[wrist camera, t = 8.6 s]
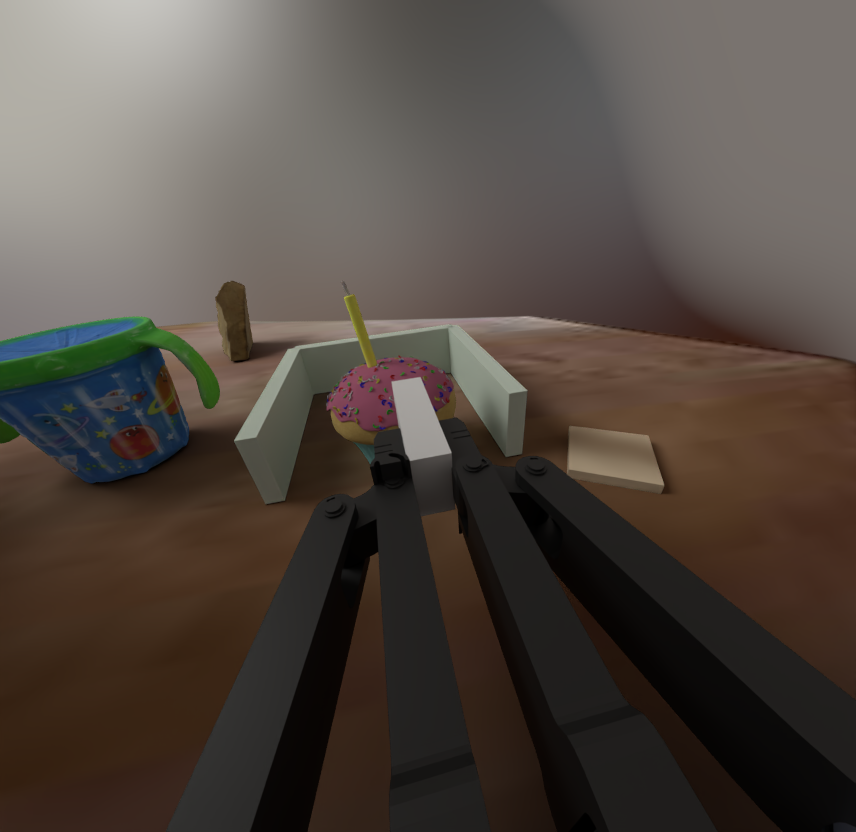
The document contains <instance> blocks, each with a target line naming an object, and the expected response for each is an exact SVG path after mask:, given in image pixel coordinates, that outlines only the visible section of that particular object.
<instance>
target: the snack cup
mask: <svg viewBox="0 0 856 832" xmlns="http://www.w3.org/2000/svg"><path fill="white" fill-rule="evenodd" d="M159 348H161V349H165V350H168V351H171V352H172V353H173V354H174V355H175V356H176V357H177V358H178V359H179V360H180V361H181V362H182V363H183V364H184V365H185V366H186V367H187V369H188V370H189V371H190V372H191V373H192V374H193V375H194V377H195V378H196V381H197V385H198V389H199V393H200V396H201V399H202V402H203V405H204V406H205V408H207V409H212V408H213V407H214V406H215V405H216V403H217V402H218V400H219V396H220V389H219V384H218V381H217V379H216V377H215V375H214V373H213V372H212V370H211V368H210V367H209V366H208V365H207V363H206V362H205V361H204V359H203V358H202V357H201V356H200V355H199V354H198V353H197V352H196V351H195V350H194V349H193V347H191V346H190V345H189V344H188V343H187V342H185V341H184V340H182V339H181V338H180V337H178V336H176V335H174V334H172V333H170V332H167V331H164V330H161V329H158V328H156V327H155V325H154V324H153V322H152V320H151V319H149V318H146V317H123V318H115V319H107V320H101V321H94V322H88V323H81V324H76V325H71V326H66V327H60V328H56V329H51V330H46V331H41V332H37V333H32V334H28V335H24V336H19V337H15V338H11V339H7V340H3V341H0V443H6V442H9V441H11V440H13V439H15V438H16V437H18V436H19V435H20V434H21V435H22V436H23V437H26V438H27V439H28V440H29V441H30V442H32V443H33V444H34V445H35V446H37V447H38V448H39V449H41V450H42V451H43V452H45V453H46V454H48V455H49V456H51V457H52V458H53V459H55V460H56V461H57V462H58V463H59V464H60V465H62V466H63V467H65V468H67V469H68V470H70V471H71V472H72V473H74V474H75V475H76V476H78V477H79V478H81V479H82V480H83V481H85V482H89V483H91V484H93V483H95V482H110V481H113V480H118V479H121V478H124V477H127V476H130V475H134V474H140V473H144V472H147V471H148V470H149V469H150V468H152V467H154V466H156V465H158V464H159V463H161V462H163V461H165V460H166V459H168V458H169V457H170V456H172V455H174V454H175V453H176V452H177V451H178V450H180V449H181V448H182V447H184V446H186V445H187V442H188V440H189V437H188V436H189V426H188V423H187V421H186V417H185V415H184V411H183V409H182V406H181V405H180V401H179V398H178V395H177V392H176V390H175V387H174V385H173V382H172V379H171V376H170V374H169V372H168V369H167V367H166V365H165V361H164V359H163V357H162V353H161V352H160V350H159Z"/></svg>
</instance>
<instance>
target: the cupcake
mask: <svg viewBox="0 0 856 832" xmlns="http://www.w3.org/2000/svg"><path fill="white" fill-rule="evenodd" d="M341 284H342V285H343V288H344V291H345V293H346V295H347V296H346V297H344V300H345V302H346V305H347V308H348V311H349V314H350V317H351V320H352V323H353V326H354V329H355V332H356V334H357V337H358V340H359V343H360V346H361V349H362V352H363V355H364V358H365V360H366V363H364V364H360V365H359V366H356V367H354V368H355V369H350V370H351V371H349V372H348V373H347V374H345V375H344V376H341V380H340V381H339V382H338V383H337V384H336V385H335V386H334V389H333V390H332V392H331V393H330V395H328V396H329V397H330V398H329V397H328V396H327V398H328V399H329V400H328V399H327V401H328V403H326V405H327V411H329V410H330V409H331V418H332V422H333V426H334V428H335V430H336V431H337V432H338V433H339V434H341V435H342V436H343V437H344V438H345V439H347V440H349V441H352V442H354V443H355V444H356V445H357V446H358V447H359V449H360V450H361V451H362V452H363V454H364V455H365V457H366V458H367V460H368V461H369V463H370V464H371V462H372V460H373V459H374V458H375V453H374V438H375V436H376V434H377V433H378V432H380V431H386V430H392V429H398V428H399V425H398V419H397V413H396V407H395V401H394V395H393V389H392V381H399V380H405V379H411V378H418V377H421V380H422V382H423V384H424V387H425V389H426V392H427V394H428V397H429V399H430V401H431V404H432V406H433V409H434V411H435V414H436V416H437V419H438V421H439V420H445V419H450V418H453V416H454V412H455V408H456V397H455V392H454V386H453V383H452V381H451V379H450V378H449V377H448V376H447V375H446V373H445V371H444V370H441V369H438V368H439V367H437V366H433V365H432V364H430V363H428V362H427V361H421V360H419V359H416V358H413V357H412V358H410V357H411V356H410V357H401V356H399V355H398V357H397V358H384V359H380V360H376V358H375V355H374V352H373V349H372V346H371V343H370V340H369V337H368V334H367V331H366V328H365V325H364V322H363V319H362V316H361V313H360V310H359V307H358V304H357V301H356V298H355V295H354V294H353V295H350V293H349V291H348V289H347V286H346V284H345V282H344V281H342V282H341ZM361 365H362V366H361ZM342 377H343V379H342ZM335 387H336V388H335Z"/></svg>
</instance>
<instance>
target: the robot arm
mask: <svg viewBox="0 0 856 832" xmlns="http://www.w3.org/2000/svg"><path fill="white" fill-rule="evenodd" d="M392 389H393V395H394V401H395V407H396V413H397V419H398V425H399V428H398V429H392V430H386V431H380V432H378V433H377V434H376V436H375V438H374V453H375V458H374V459H373V460H372V462H371V465H370V469H371V473H372V477H373V481H374V485H373V486H372V488H371V489H370V490H368V491H367V492H366V493H364V494H362V495H361V496H358V497H356V498H354V499H353V498H352V497H350V496H349V495H345V494H337V495H332V496H330V497H327V498H325V499H324V500H323V501H321V502H320V503H319V504H318V505H317V507H316V508H315V509H314V512H313V514H312V516H311V518H310V520H309V522H308V525H307V527H306V529H305V531H304V533H303V535H302V538H301V540H300V542H299V544H298V546H297V548H296V551H295V553H294V555H293V557H292V559H291V561H290V564H289V566H288V568H287V570H286V572H285V574H284V577H283V579H282V581H281V583H280V585H279V587H278V590H277V592H276V594H275V596H274V598H273V600H272V603H271V605H270V607H269V609H268V611H267V613H266V616H265V618H264V620H263V622H262V624H261V626H260V629H259V631H258V633H257V635H256V637H255V639H254V642H253V644H252V646H251V648H250V650H249V652H248V654H247V657H246V659H245V661H244V663H243V665H242V667H241V670H240V672H239V674H238V676H237V678H236V680H235V683H234V685H233V687H232V689H231V691H230V693H229V696H228V698H227V700H226V702H225V704H224V706H223V709H222V711H221V713H220V715H219V717H218V719H217V722H216V724H215V726H214V728H213V730H212V732H211V735H210V737H209V739H208V741H207V743H206V745H205V748H204V750H203V752H202V754H201V756H200V758H199V761H198V763H197V765H196V767H195V769H194V771H193V774H192V776H191V778H190V780H189V782H188V784H187V787H186V789H185V791H184V793H183V795H182V797H181V800H180V802H179V804H178V806H177V808H176V810H175V812H174V815H173V817H172V819H171V821H170V823H169V825H168V828H167V830H166V832H307V831H308V826H309V822H310V818H311V813H312V809H313V805H314V800H315V796H316V792H317V787H318V783H319V779H320V774H321V770H322V766H323V761H324V757H325V752H326V748H327V744H328V739H329V735H330V731H331V726H332V722H333V718H334V713H335V709H336V705H337V700H338V696H339V692H340V687H341V683H342V679H343V674H344V670H345V665H346V661H347V657H348V652H349V648H350V644H351V639H352V635H353V631H354V626H355V622H356V618H357V613H358V609H359V605H360V600H361V596H362V592H363V587H364V583H365V579H366V574H367V570H368V565H369V561H370V556H372V555H374V554H375V553H377V552H379V569H380V585H381V601H382V618H383V634H384V651H385V667H386V683H387V700H388V716H389V733H390V749H391V782H390V794H389V812H390V832H491V830H490V826H489V821H488V817H487V812H486V808H485V803H484V798H483V794H482V790H481V785H480V781H479V777H478V773H477V768H476V764H475V761H474V757H473V754H472V750H471V746H470V742H469V738H468V733H467V729H466V724H465V719H464V715H463V710H462V705H461V701H460V696H459V692H458V687H457V682H456V678H455V673H454V668H453V664H452V659H451V654H450V650H449V645H448V641H447V636H446V631H445V627H444V622H443V617H442V613H441V608H440V604H439V599H438V594H437V590H436V585H435V580H434V576H433V571H432V567H431V562H430V557H429V553H428V548H427V543H426V539H425V534H424V530H423V525H422V520H421V516H424V515H429V514H434V513H439V512H444V511H448V510H453V509H455V503H456V506H457V509H458V522H459V534H462V532H463V535H464V538H465V541H466V544H467V547H468V550H469V553H470V556H471V559H472V562H473V565H474V568H475V571H476V574H477V577H478V580H479V583H480V586H481V589H482V592H483V595H484V598H485V601H486V604H487V607H488V610H489V613H490V616H491V619H492V622H493V625H494V628H495V631H496V634H497V637H498V640H499V643H500V646H501V649H502V652H503V655H504V658H505V661H506V664H507V667H508V670H509V673H510V676H511V679H512V682H513V685H514V688H515V691H516V694H517V697H518V700H519V703H520V706H521V709H522V712H523V715H524V718H525V721H526V724H527V727H528V730H529V733H530V736H531V738H532V741H533V744H534V747H535V750H536V753H537V757H538V760H539V763H540V767H541V771H542V776H543V782H544V787H545V792H546V795H547V799H548V803H549V806H550V810H551V813H552V816H553V819H554V823H555V826H556V829H557V832H718V831H717V830H716V828H715V826H714V825H713V823H712V821H711V820H710V818H709V816H708V814H707V813H706V811H705V809H704V808H703V806H702V804H701V803H700V801H699V799H698V798H697V796H696V794H695V793H694V791H693V789H692V787H691V786H690V784H689V782H688V781H687V779H686V777H685V776H684V774H683V772H682V771H681V769H680V767H679V766H678V764H677V762H676V760H675V759H674V757H673V755H672V754H671V752H670V750H669V749H668V747H667V745H666V744H665V742H664V741H663V739H662V738H661V736H660V735H659V733H658V731H657V730H656V728H655V727H654V726H653V724H652V723H651V722H650V721H649V720H648V719H647V718H646V716H645V715H644V714H643V713H641V712H640V711H638V710H637V709H635V708H634V707H632V706H631V705H630V704H629V703H628V702H627V701H626V700H625V699H624V697H623V696H622V694H621V692H620V691H619V689H618V687H617V686H616V684H615V682H614V680H613V679H612V677H611V675H610V673H609V671H608V670H607V668H606V666H605V664H604V662H603V661H602V659H601V657H600V655H599V653H598V652H597V650H596V648H595V646H594V645H593V643H592V641H591V639H590V637H589V636H588V634H587V632H586V630H585V628H584V627H583V625H582V623H581V621H580V620H579V618H578V616H577V614H576V612H575V611H574V609H573V607H572V605H571V603H570V602H569V600H568V598H567V596H566V595H565V593H564V591H563V589H562V587H561V586H560V584H559V582H558V580H557V578H556V577H555V575H554V573H553V571H554V572H555V574H556V575H557V576H558V577H559V578H560V579H561V580H562V582H563V583H564V584H565V585H566V586H567V587H568V589H569V590H570V591H571V592H572V593H573V594H574V596H575V597H576V598H577V599H578V600H579V601H580V602H581V604H582V605H583V606H584V607H585V608H586V609H587V611H588V612H589V613H590V614H591V615H592V616H593V618H594V619H595V620H596V621H597V622H598V623H599V624H600V626H601V627H602V628H603V629H604V630H605V631H606V633H607V634H608V635H609V636H610V637H611V638H612V639H613V641H614V642H615V643H616V644H617V645H618V646H619V648H620V649H621V650H622V651H623V652H624V653H625V655H626V656H627V657H628V658H629V659H630V660H631V661H632V663H633V664H634V665H635V666H636V667H637V668H638V670H639V671H640V672H641V673H642V674H643V675H644V677H645V678H646V679H647V680H648V681H649V682H650V683H651V685H652V686H653V687H654V688H655V689H656V690H657V692H658V693H659V694H660V695H661V696H662V697H663V699H664V700H665V701H666V702H667V703H668V704H669V705H670V707H671V708H672V709H673V710H674V711H675V712H676V714H677V715H678V716H679V717H680V718H681V719H682V720H683V722H684V723H685V724H686V725H687V726H688V727H689V729H690V730H691V731H692V732H693V733H694V734H695V736H696V737H697V738H698V739H699V740H700V741H701V742H702V744H703V745H704V746H705V747H706V748H707V749H708V751H709V752H710V753H711V754H712V755H713V756H714V758H715V759H716V760H717V761H718V762H719V763H720V764H721V766H722V767H723V768H724V769H725V770H726V771H727V773H728V774H729V775H730V776H731V777H732V778H733V779H734V780H735V782H736V783H737V784H738V785H739V786H740V787H741V788H742V789H743V790H744V791H745V793H746V794H747V795H748V796H749V797H750V798H751V799H752V800H753V801H754V802H755V803H756V805H757V806H758V807H759V808H760V809H761V810H762V811H763V812H764V813H765V814H766V815H767V816H768V817H769V818H770V819H771V820H772V821H773V822H774V823H775V824H776V825H777V826H778V827H779V828H780V829H781V830H782V831H783V832H856V700H855V699H853V698H852V697H851V696H850V695H848V694H847V693H846V692H845V691H843V690H842V689H841V688H839V687H838V686H837V685H836V684H834V683H833V682H832V681H830V680H829V679H828V678H827V677H825V676H824V675H823V674H821V673H820V672H819V671H818V670H816V669H815V668H814V667H813V666H811V665H810V664H809V663H807V662H806V661H805V660H804V659H802V658H801V657H800V656H798V655H797V654H796V653H795V652H793V651H792V650H791V649H790V648H788V647H787V646H786V645H784V644H783V643H782V642H781V641H779V640H778V639H777V638H775V637H774V636H773V635H772V634H770V633H769V632H768V631H767V630H765V629H764V628H763V627H761V626H760V625H759V624H758V623H756V622H755V621H754V620H752V619H751V618H750V617H749V616H747V615H746V614H745V613H743V612H742V611H741V610H740V609H738V608H737V607H736V606H735V605H733V604H732V603H731V602H729V601H728V600H727V599H726V598H724V597H723V596H722V595H720V594H719V593H718V592H717V591H715V590H714V589H713V588H712V587H710V586H709V585H708V584H706V583H705V582H704V581H703V580H701V579H700V578H699V577H697V576H696V575H695V574H694V573H692V572H691V571H690V570H689V569H687V568H686V567H685V566H683V565H682V564H681V563H680V562H678V561H677V560H676V559H674V558H673V557H672V556H671V555H669V554H668V553H667V552H665V551H664V550H663V549H662V548H660V547H659V546H658V545H657V544H655V543H654V542H653V541H651V540H650V539H649V538H648V537H646V536H645V535H644V534H642V533H641V532H640V531H639V530H637V529H636V528H635V527H634V526H632V525H631V524H630V523H628V522H627V521H626V520H625V519H623V518H622V517H621V516H619V515H618V514H617V513H616V512H614V511H613V510H612V509H611V508H609V507H608V506H607V505H605V504H604V503H603V502H602V501H600V500H599V499H598V498H596V497H595V496H594V495H593V494H591V493H590V492H589V491H588V490H586V489H585V488H584V487H582V486H581V485H580V484H579V483H577V482H576V481H575V480H573V479H572V478H571V477H570V476H568V475H567V474H566V473H564V472H563V471H562V470H561V469H559V468H558V467H557V466H556V465H554V464H553V463H552V462H550V461H549V460H547V459H545V458H542V457H538V456H528V457H523V458H522V459H520V460H518V462H517V464H516V467H504V466H497V465H493V464H492V462H491V461H490V460H489V459H488V458H486V457H484V456H482V455H481V454H480V452H479V450H478V448H477V446H476V444H475V443H474V441H473V439H472V437H471V436H470V433H469V431H468V430H467V428H466V426H465V424H464V422H462V421H461V420H459V419H458V418H450V419H445V420H439V421H438V419H437V416H436V414H435V411H434V409H433V406H432V404H431V401H430V399H429V397H428V394H427V392H426V389H425V387H424V384H423V382H422V380H421V377H418V378H411V379H405V380H399V381H392ZM551 569H552V570H553V571H552V570H551Z"/></svg>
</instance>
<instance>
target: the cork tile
mask: <svg viewBox="0 0 856 832" xmlns="http://www.w3.org/2000/svg"><path fill="white" fill-rule="evenodd" d="M567 475H568V476H570V477H571V478H572V479H577V480H583V481H588V482H594V483H600V484H606V485H612V486H617V487H623V488H629V489H635V490H641V491H646V492H652V493H658V494H661V492H662V490H663V488H664V483H663V480H662V476H661V473H660V470H659V467H658V464H657V461H656V458H655V455H654V452H653V448H652V445H651V442H650V439H649V436H647V435H639V434H631V433H624V432H616V431H608V430H600V429H592V428H584V427H576V426H569V431H568V454H567Z"/></svg>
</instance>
